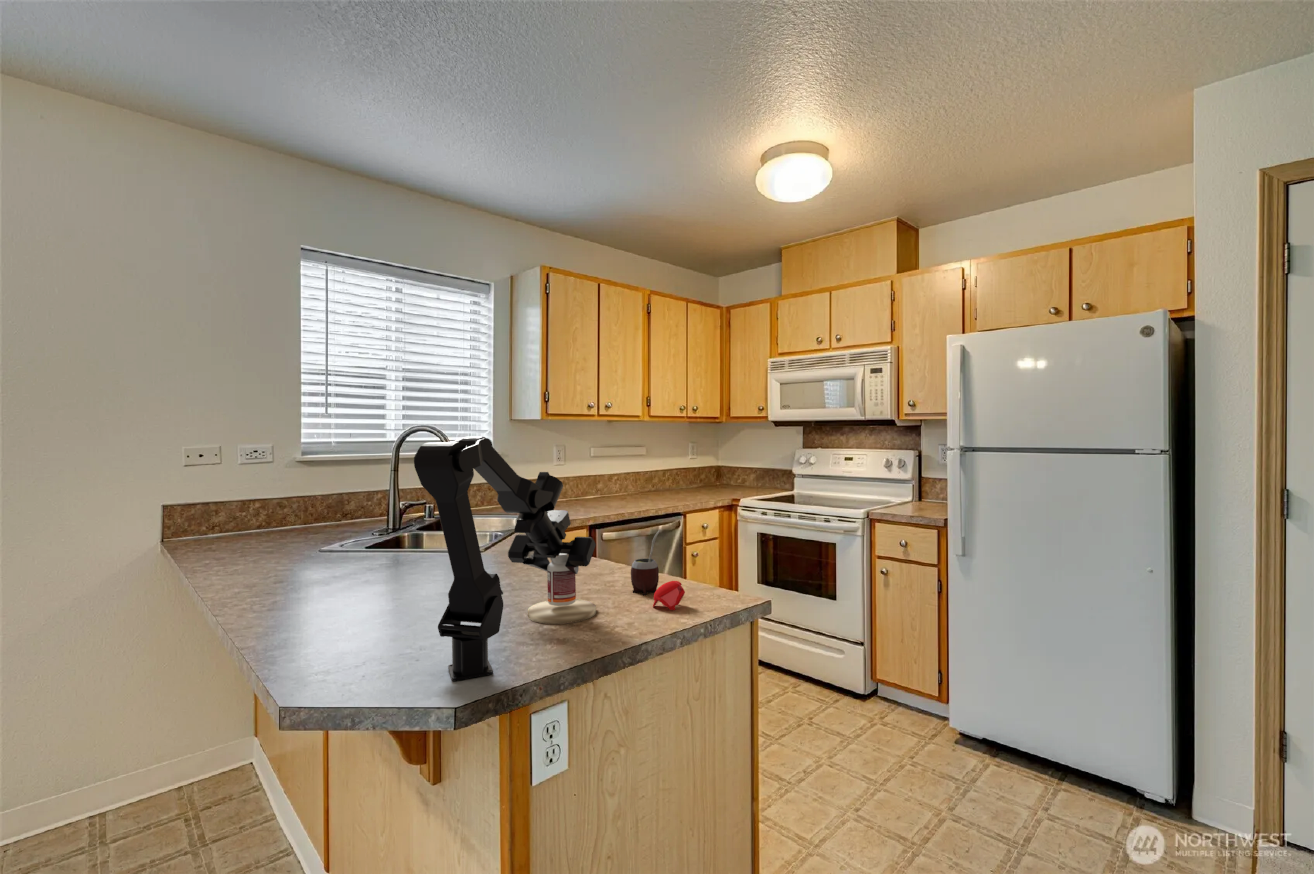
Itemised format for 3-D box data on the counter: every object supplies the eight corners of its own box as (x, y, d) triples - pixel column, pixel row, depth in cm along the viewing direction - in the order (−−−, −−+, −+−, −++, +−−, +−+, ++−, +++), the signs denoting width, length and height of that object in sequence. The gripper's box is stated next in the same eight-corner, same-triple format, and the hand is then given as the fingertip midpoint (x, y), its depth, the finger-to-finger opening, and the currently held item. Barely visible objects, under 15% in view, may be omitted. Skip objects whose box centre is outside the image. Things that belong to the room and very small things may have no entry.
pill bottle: (581, 601, 132) (580, 551, 132) (563, 608, 127) (563, 556, 127) (560, 597, 135) (559, 549, 135) (541, 604, 130) (541, 554, 130)
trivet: (605, 617, 128) (605, 612, 128) (537, 628, 121) (536, 622, 121) (584, 600, 141) (583, 595, 141) (521, 609, 135) (521, 604, 135)
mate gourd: (630, 596, 145) (629, 535, 145) (632, 587, 153) (631, 530, 153) (660, 595, 145) (659, 534, 145) (661, 587, 153) (660, 529, 153)
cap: (689, 589, 138) (668, 575, 139) (688, 587, 132) (666, 572, 134) (670, 619, 136) (649, 604, 138) (668, 618, 130) (646, 602, 132)
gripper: (591, 499, 125) (612, 543, 135) (514, 498, 130) (539, 540, 141) (575, 543, 117) (598, 586, 127) (494, 539, 123) (522, 581, 133)
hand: (564, 571), depth 132 cm, fingers closed on pill bottle, 6 cm apart
